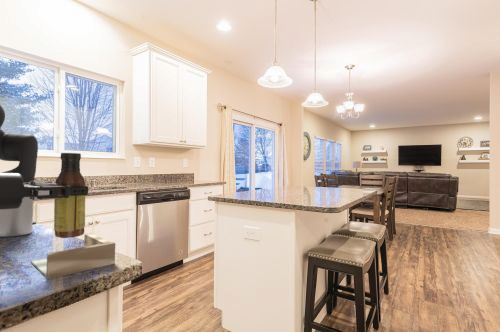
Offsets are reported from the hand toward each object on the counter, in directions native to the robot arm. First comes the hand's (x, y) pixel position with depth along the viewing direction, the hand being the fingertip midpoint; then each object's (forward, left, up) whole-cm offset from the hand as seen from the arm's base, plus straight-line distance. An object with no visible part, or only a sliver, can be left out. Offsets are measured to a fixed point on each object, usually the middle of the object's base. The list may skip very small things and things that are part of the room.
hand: (82, 189), depth 68 cm
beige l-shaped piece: (0, -1, -18) cm, 18 cm away
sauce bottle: (0, -2, -11) cm, 12 cm away
